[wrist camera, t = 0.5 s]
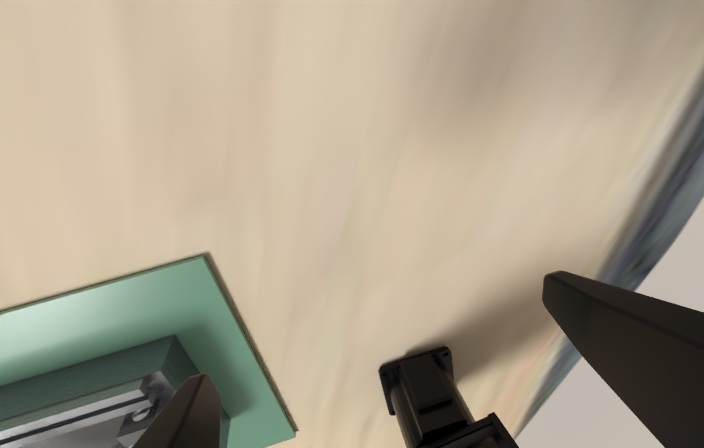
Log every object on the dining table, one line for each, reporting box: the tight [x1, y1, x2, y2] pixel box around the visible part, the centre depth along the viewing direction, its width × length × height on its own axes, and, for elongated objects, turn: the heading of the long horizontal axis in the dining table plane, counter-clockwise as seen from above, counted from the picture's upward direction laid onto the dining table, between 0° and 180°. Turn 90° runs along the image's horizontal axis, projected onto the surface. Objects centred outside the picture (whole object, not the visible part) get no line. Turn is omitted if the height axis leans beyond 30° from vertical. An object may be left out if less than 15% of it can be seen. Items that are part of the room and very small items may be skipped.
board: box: [0, 255, 296, 448], centre depth 24 cm, size 20×24×1 cm
